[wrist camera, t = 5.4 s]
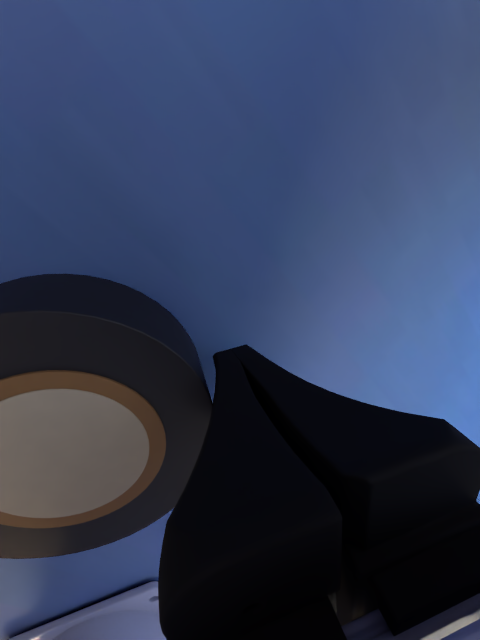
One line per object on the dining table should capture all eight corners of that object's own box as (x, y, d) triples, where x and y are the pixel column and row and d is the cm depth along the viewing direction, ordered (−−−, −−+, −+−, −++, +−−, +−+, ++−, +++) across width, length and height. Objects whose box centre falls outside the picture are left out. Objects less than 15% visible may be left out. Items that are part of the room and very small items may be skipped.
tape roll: (218, 438, 14) (236, 500, 12) (5, 508, 13) (-31, 599, 10) (171, 246, 10) (182, 273, 7) (-154, 313, 9) (-291, 378, 6)
